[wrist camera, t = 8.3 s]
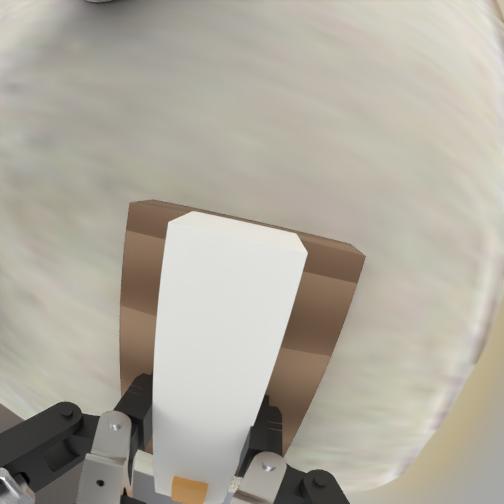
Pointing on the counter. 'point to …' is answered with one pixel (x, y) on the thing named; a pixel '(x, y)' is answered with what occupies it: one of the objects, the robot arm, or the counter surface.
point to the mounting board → (299, 324)
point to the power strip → (216, 346)
